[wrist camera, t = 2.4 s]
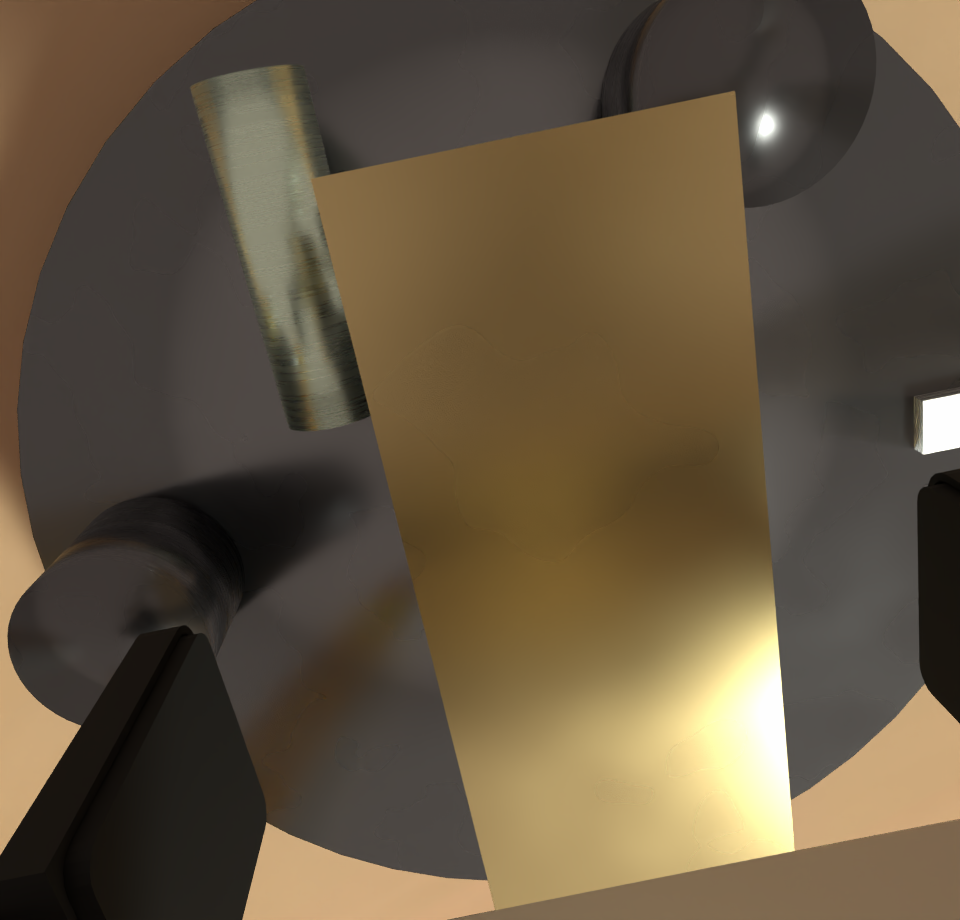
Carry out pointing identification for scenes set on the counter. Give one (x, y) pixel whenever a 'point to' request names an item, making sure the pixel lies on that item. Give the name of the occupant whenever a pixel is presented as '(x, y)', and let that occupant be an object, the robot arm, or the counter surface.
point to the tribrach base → (326, 491)
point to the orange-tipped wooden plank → (580, 486)
